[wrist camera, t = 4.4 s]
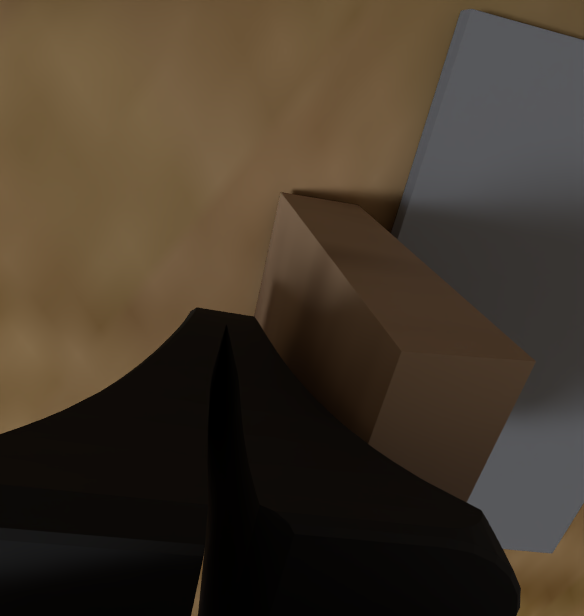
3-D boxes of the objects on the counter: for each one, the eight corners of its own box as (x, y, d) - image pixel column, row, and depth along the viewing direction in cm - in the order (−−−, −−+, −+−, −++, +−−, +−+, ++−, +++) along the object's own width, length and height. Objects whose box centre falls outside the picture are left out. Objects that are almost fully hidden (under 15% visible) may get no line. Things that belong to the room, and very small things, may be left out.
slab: (303, 401, 15) (398, 641, 9) (236, 398, 15) (292, 653, 9) (358, 204, 13) (536, 361, 7) (280, 192, 12) (401, 351, 6)
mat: (543, 539, 19) (551, 553, 18) (301, 515, 17) (303, 530, 17) (803, 106, 13) (828, 108, 12) (461, 10, 11) (471, 9, 11)
